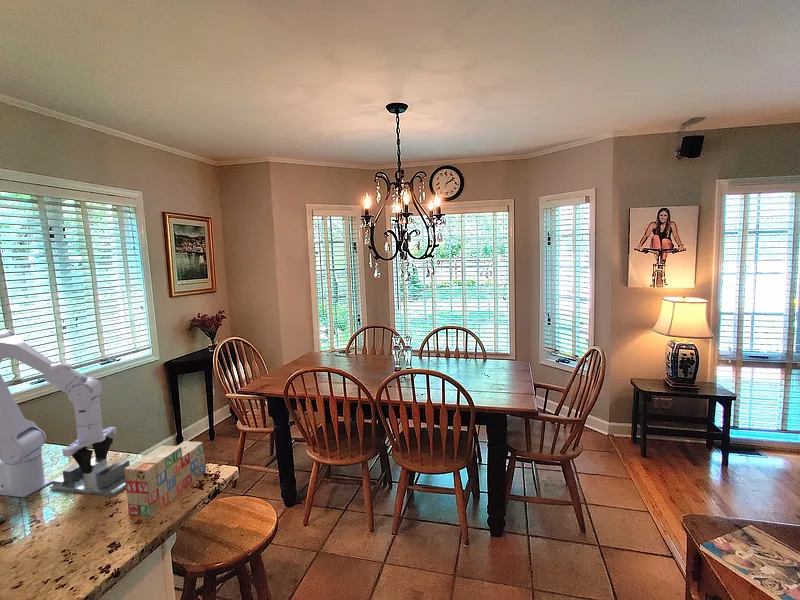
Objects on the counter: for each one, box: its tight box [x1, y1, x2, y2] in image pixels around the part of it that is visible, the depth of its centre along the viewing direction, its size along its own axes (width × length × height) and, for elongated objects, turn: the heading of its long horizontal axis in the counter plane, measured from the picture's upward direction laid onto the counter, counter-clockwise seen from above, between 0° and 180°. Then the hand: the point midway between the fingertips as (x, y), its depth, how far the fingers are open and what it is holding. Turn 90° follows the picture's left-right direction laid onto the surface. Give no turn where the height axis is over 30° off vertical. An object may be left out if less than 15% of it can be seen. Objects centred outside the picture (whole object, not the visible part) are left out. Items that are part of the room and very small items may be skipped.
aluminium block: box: [83, 456, 109, 483], centre depth 116 cm, size 4×4×5 cm
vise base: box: [49, 456, 126, 497], centre depth 116 cm, size 20×11×5 cm, turn 79°
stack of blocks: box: [125, 440, 206, 518], centre depth 110 cm, size 21×6×12 cm, turn 170°
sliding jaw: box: [97, 459, 130, 487], centre depth 115 cm, size 2×8×4 cm, turn 170°
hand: (94, 468), depth 116 cm, fingers closed on aluminium block, 4 cm apart
